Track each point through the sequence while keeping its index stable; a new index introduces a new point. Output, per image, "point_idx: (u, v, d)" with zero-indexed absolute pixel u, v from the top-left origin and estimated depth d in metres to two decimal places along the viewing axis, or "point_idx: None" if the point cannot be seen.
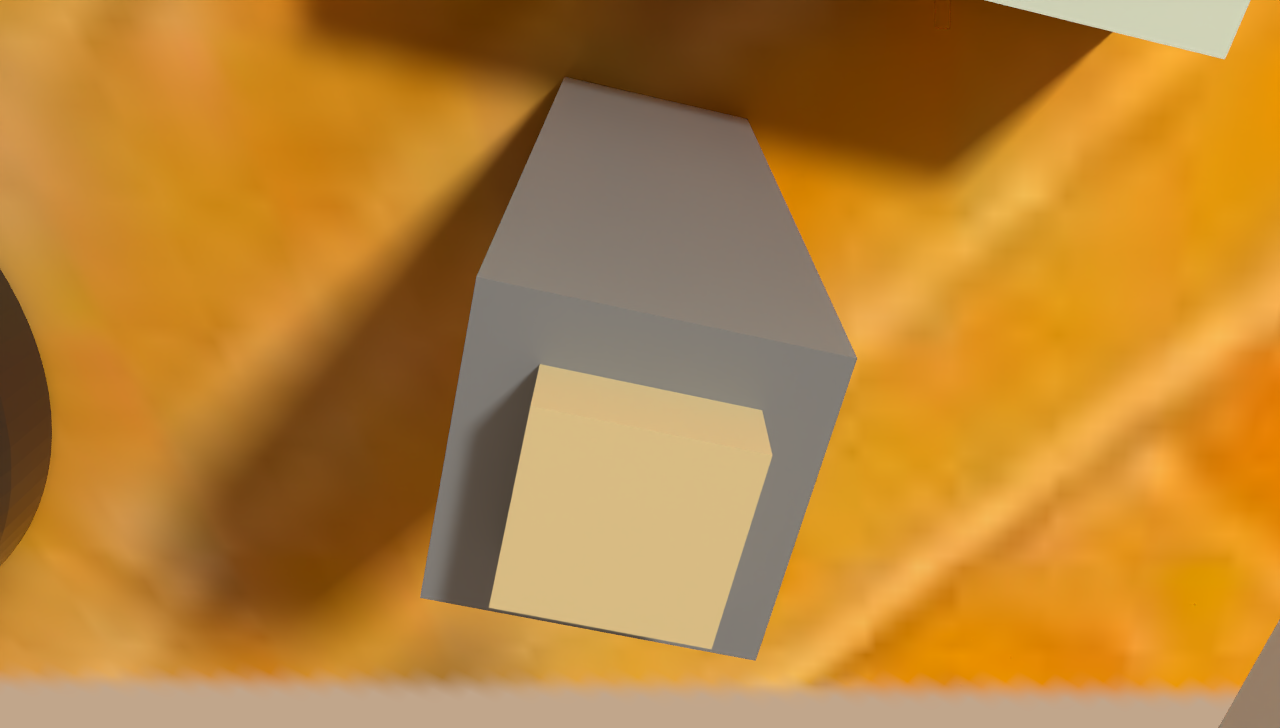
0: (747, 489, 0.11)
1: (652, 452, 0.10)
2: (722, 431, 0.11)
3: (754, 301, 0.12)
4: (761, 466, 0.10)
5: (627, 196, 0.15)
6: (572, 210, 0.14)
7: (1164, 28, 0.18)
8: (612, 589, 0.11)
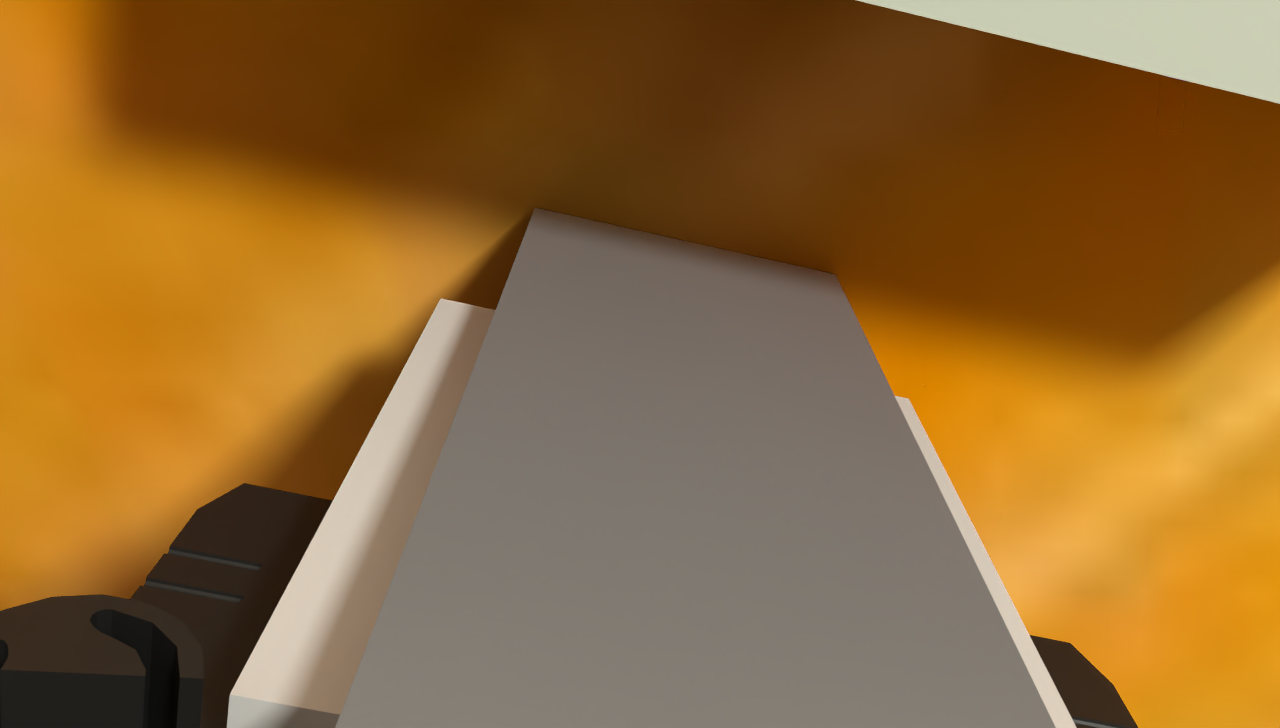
0: None
1: None
2: None
3: None
4: None
5: (642, 676, 0.06)
6: None
7: None
8: None
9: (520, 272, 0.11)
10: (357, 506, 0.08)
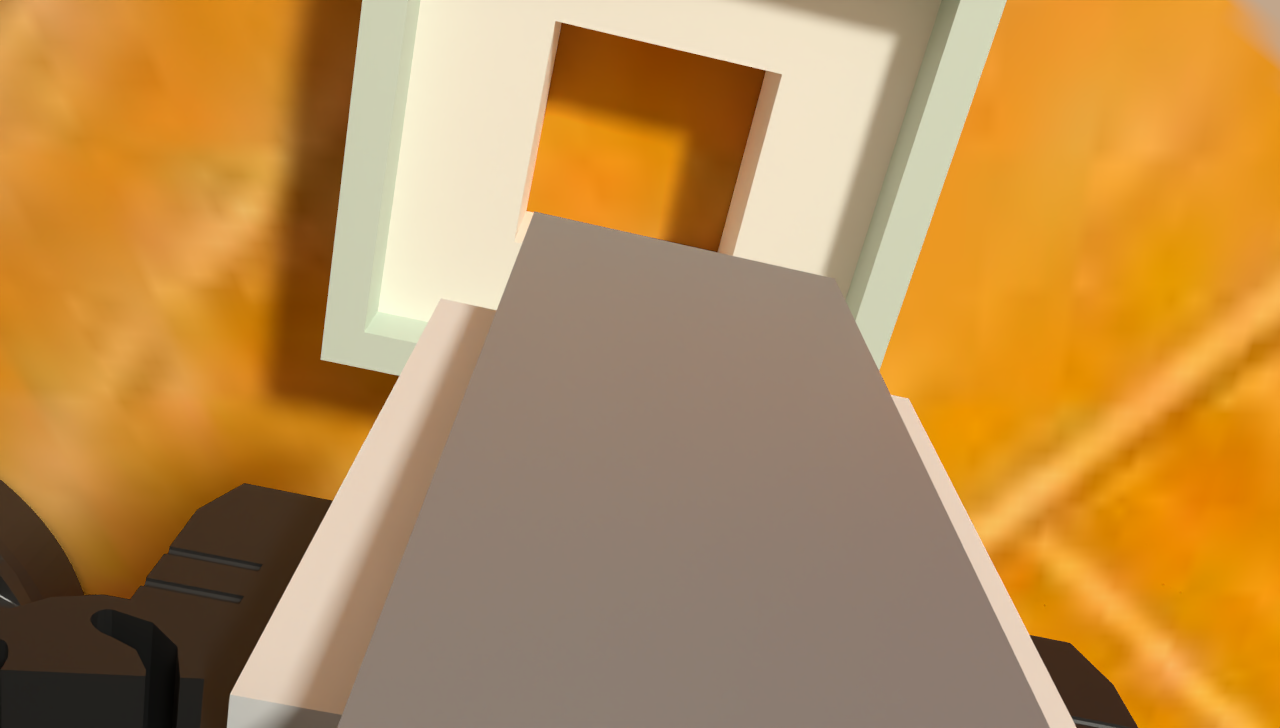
0: None
1: None
2: None
3: None
4: None
5: (640, 687, 0.06)
6: None
7: None
8: None
9: (519, 277, 0.11)
10: (357, 507, 0.08)
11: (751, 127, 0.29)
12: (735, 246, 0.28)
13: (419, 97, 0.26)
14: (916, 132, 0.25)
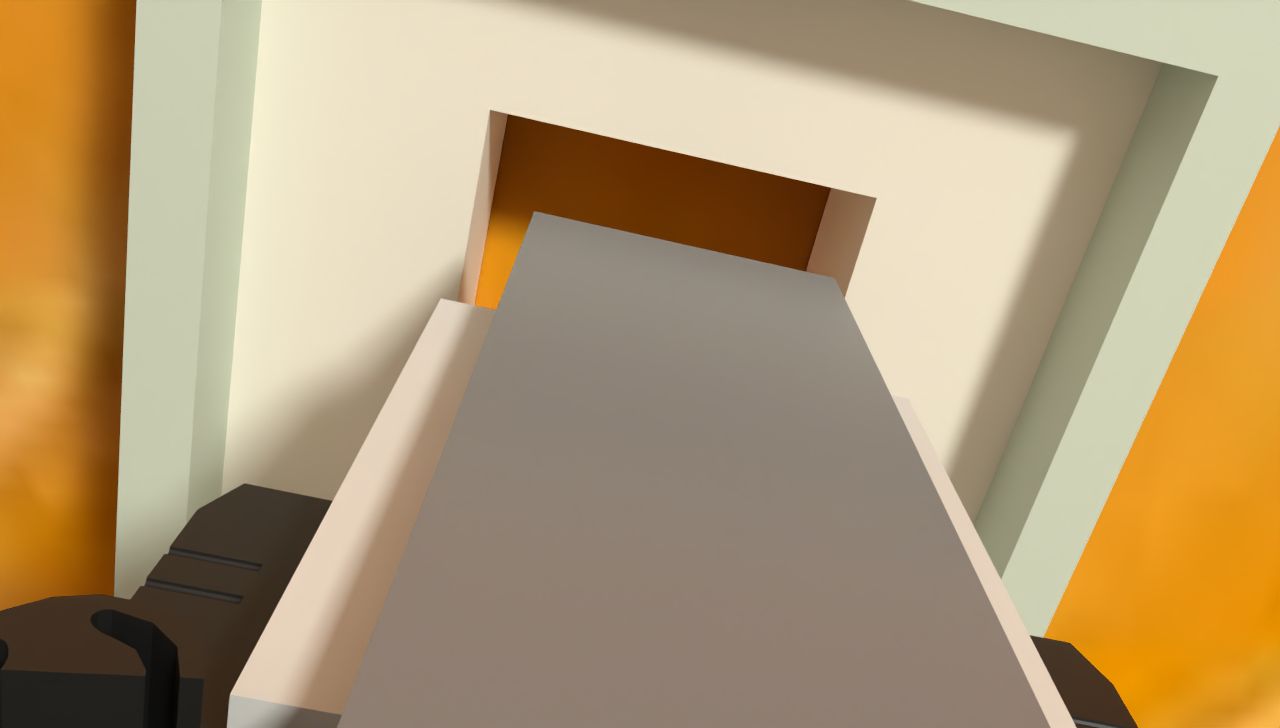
0: None
1: None
2: None
3: None
4: None
5: (640, 685, 0.06)
6: None
7: None
8: None
9: (519, 276, 0.11)
10: (357, 506, 0.08)
11: (811, 259, 0.19)
12: None
13: (263, 234, 0.16)
14: (1116, 307, 0.14)
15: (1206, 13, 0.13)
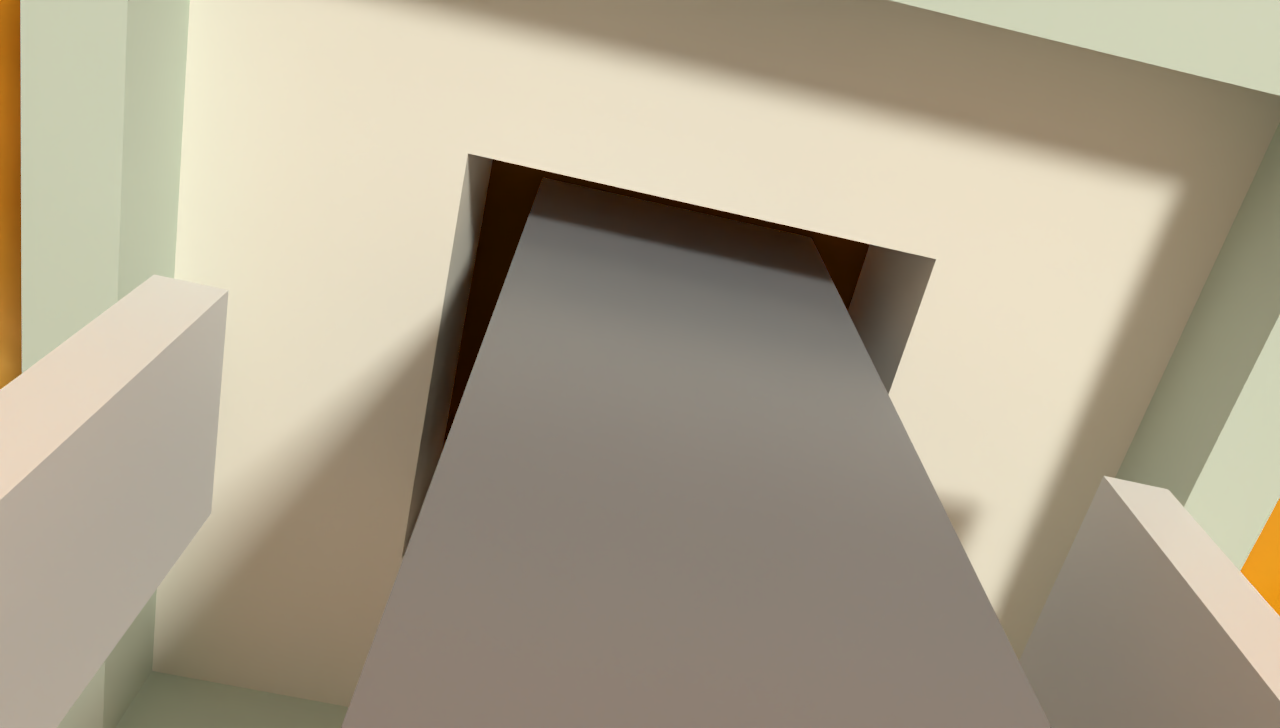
0: None
1: None
2: None
3: None
4: None
5: (643, 514, 0.08)
6: (526, 603, 0.06)
7: None
8: None
9: (532, 229, 0.13)
10: None
11: None
12: None
13: None
14: (1233, 398, 0.12)
15: None
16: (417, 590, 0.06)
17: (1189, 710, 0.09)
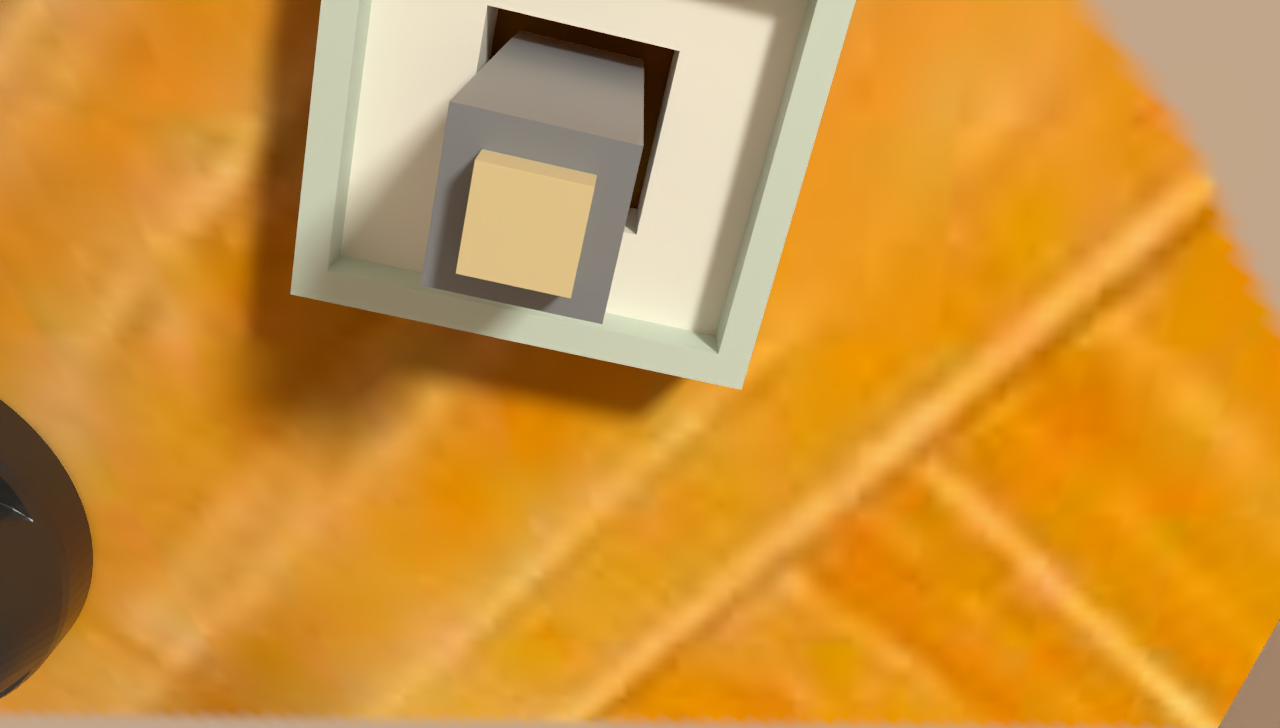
0: (583, 205, 0.21)
1: (535, 184, 0.21)
2: (571, 178, 0.21)
3: (597, 124, 0.23)
4: (589, 193, 0.21)
5: (541, 83, 0.26)
6: (506, 85, 0.24)
7: (706, 374, 0.33)
8: (518, 263, 0.22)
9: (513, 40, 0.31)
10: None
11: (663, 99, 0.34)
12: (645, 199, 0.33)
13: (373, 70, 0.31)
14: (789, 99, 0.30)
15: None
16: (478, 79, 0.24)
17: None
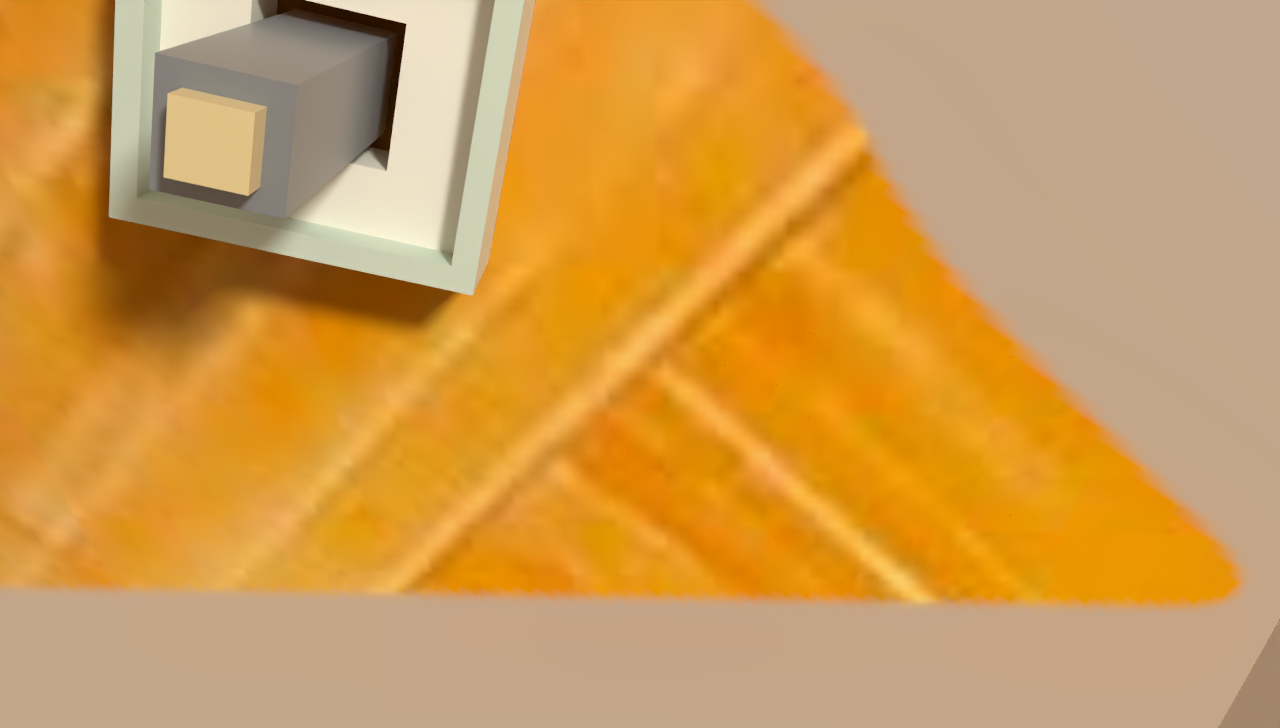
0: (248, 127, 0.30)
1: (212, 111, 0.30)
2: (241, 107, 0.30)
3: (274, 71, 0.31)
4: (252, 117, 0.30)
5: (261, 45, 0.34)
6: (224, 45, 0.33)
7: (443, 283, 0.42)
8: (207, 169, 0.30)
9: (278, 16, 0.40)
10: None
11: None
12: (391, 142, 0.41)
13: (168, 39, 0.40)
14: (485, 61, 0.38)
15: None
16: (202, 40, 0.33)
17: None
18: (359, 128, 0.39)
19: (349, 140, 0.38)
